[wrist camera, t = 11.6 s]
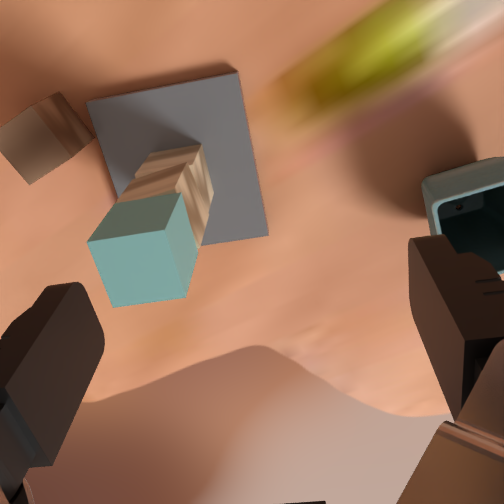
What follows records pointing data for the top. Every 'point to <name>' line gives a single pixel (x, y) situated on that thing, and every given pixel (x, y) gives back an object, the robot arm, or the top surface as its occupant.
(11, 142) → the walnut block
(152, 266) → the teal block
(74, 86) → the top surface
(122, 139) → the slate board
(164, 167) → the tower base block
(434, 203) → the flower pot
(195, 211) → the tower top block
